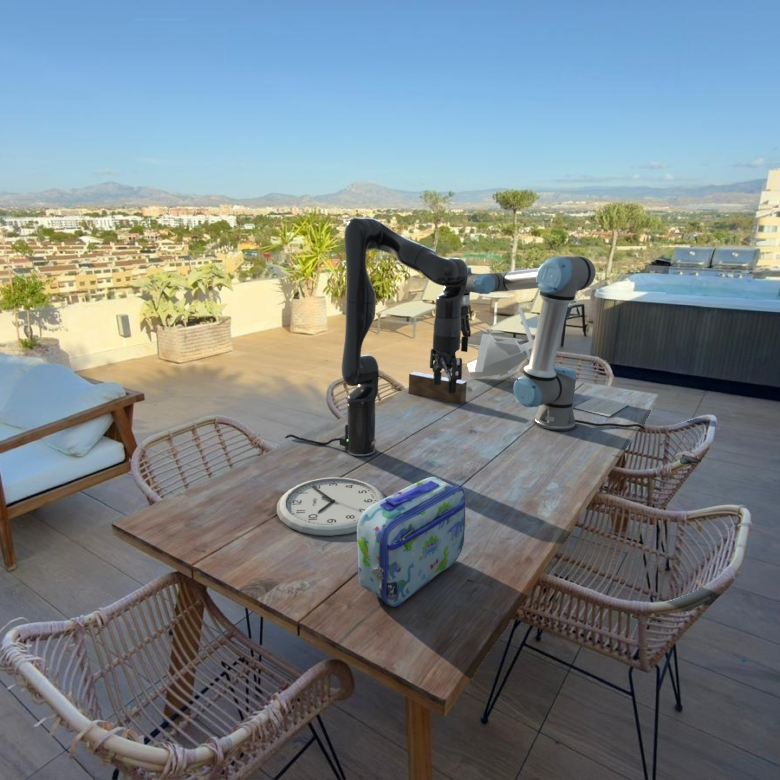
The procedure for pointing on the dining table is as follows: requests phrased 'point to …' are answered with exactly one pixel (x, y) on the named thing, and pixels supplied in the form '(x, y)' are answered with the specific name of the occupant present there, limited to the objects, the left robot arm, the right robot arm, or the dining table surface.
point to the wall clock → (327, 505)
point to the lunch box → (410, 539)
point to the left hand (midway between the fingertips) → (444, 388)
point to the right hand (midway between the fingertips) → (457, 354)
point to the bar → (436, 388)
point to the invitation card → (601, 406)
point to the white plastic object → (500, 354)
